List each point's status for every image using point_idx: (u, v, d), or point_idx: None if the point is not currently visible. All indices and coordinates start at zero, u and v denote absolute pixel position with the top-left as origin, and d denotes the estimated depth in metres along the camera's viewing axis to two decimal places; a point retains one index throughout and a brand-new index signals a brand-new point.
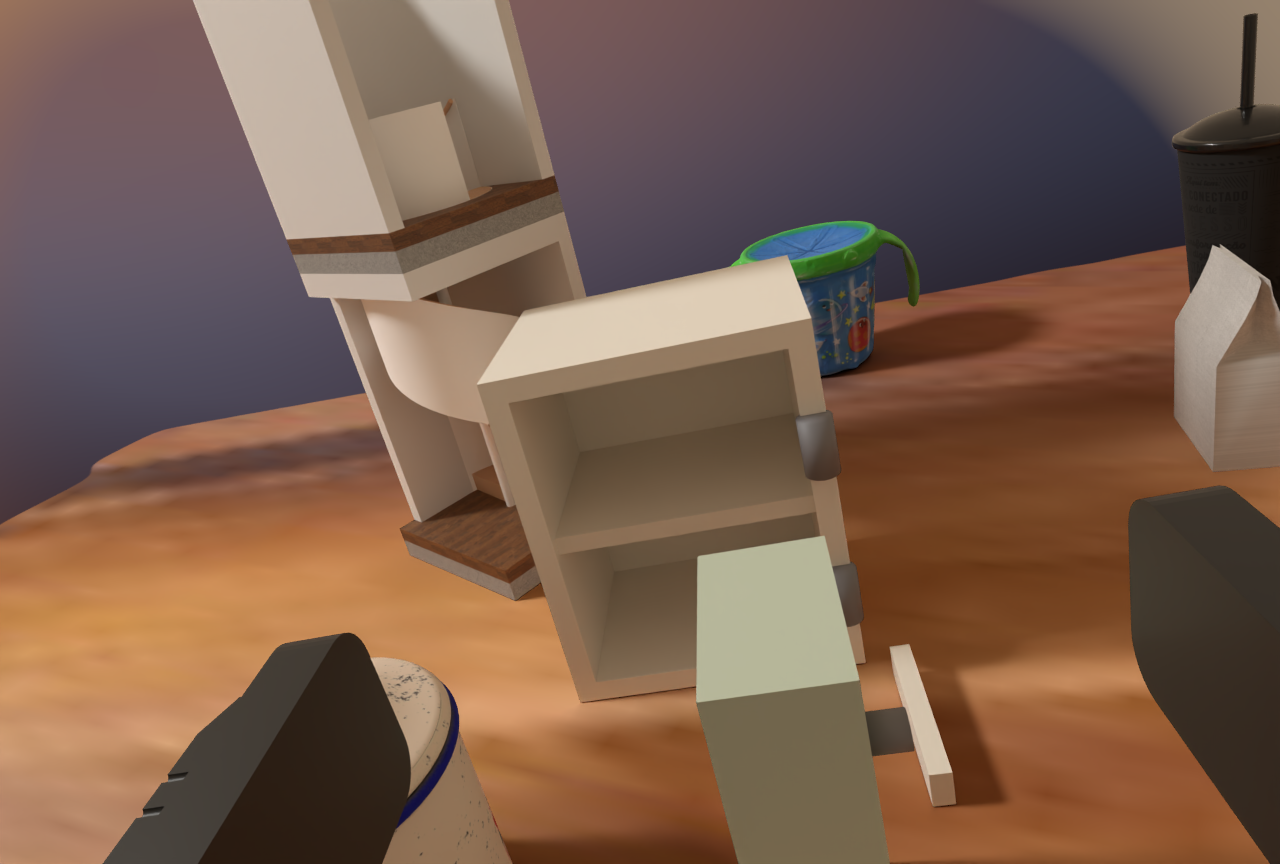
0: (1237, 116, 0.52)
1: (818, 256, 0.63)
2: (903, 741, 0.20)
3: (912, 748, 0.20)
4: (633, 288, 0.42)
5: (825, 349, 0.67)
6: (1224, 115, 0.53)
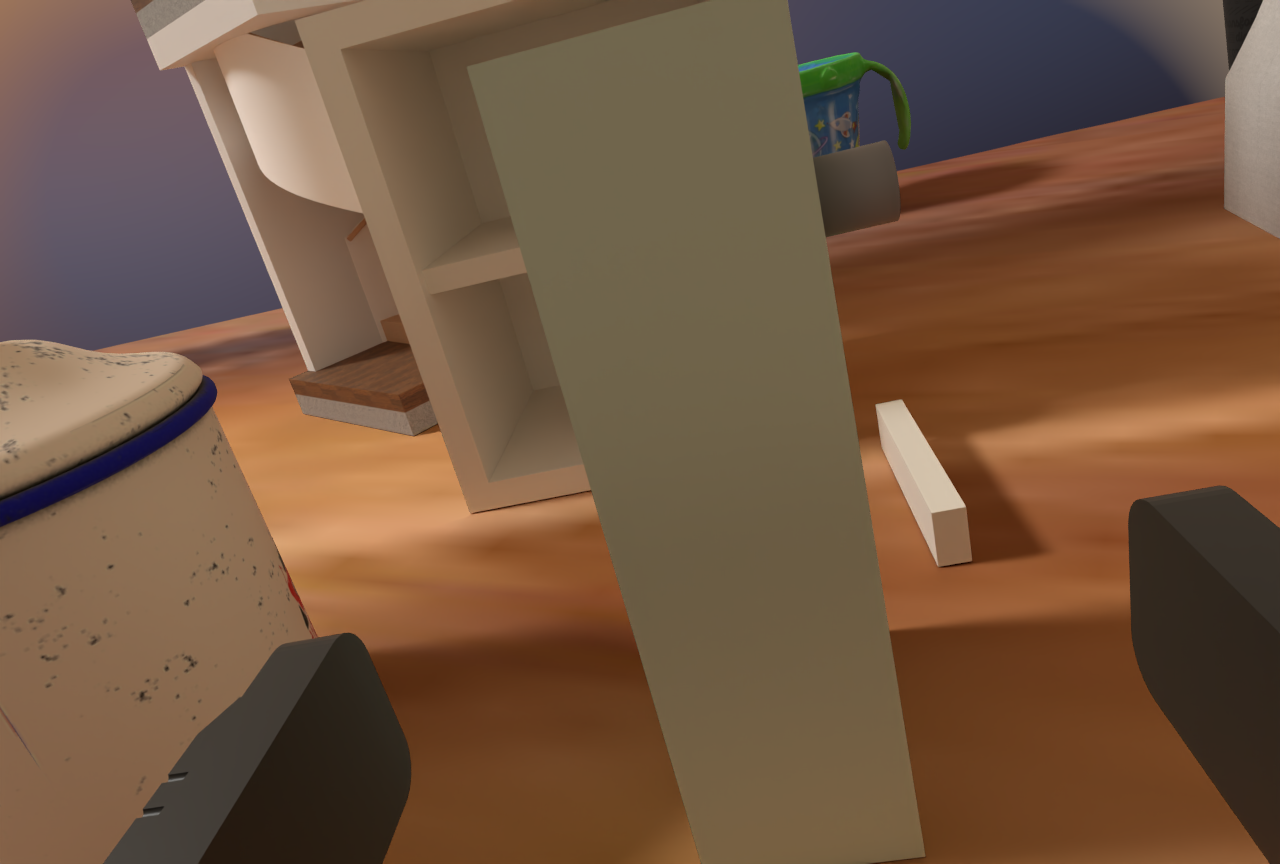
0: None
1: None
2: (878, 182, 0.11)
3: (897, 198, 0.11)
4: None
5: None
6: None
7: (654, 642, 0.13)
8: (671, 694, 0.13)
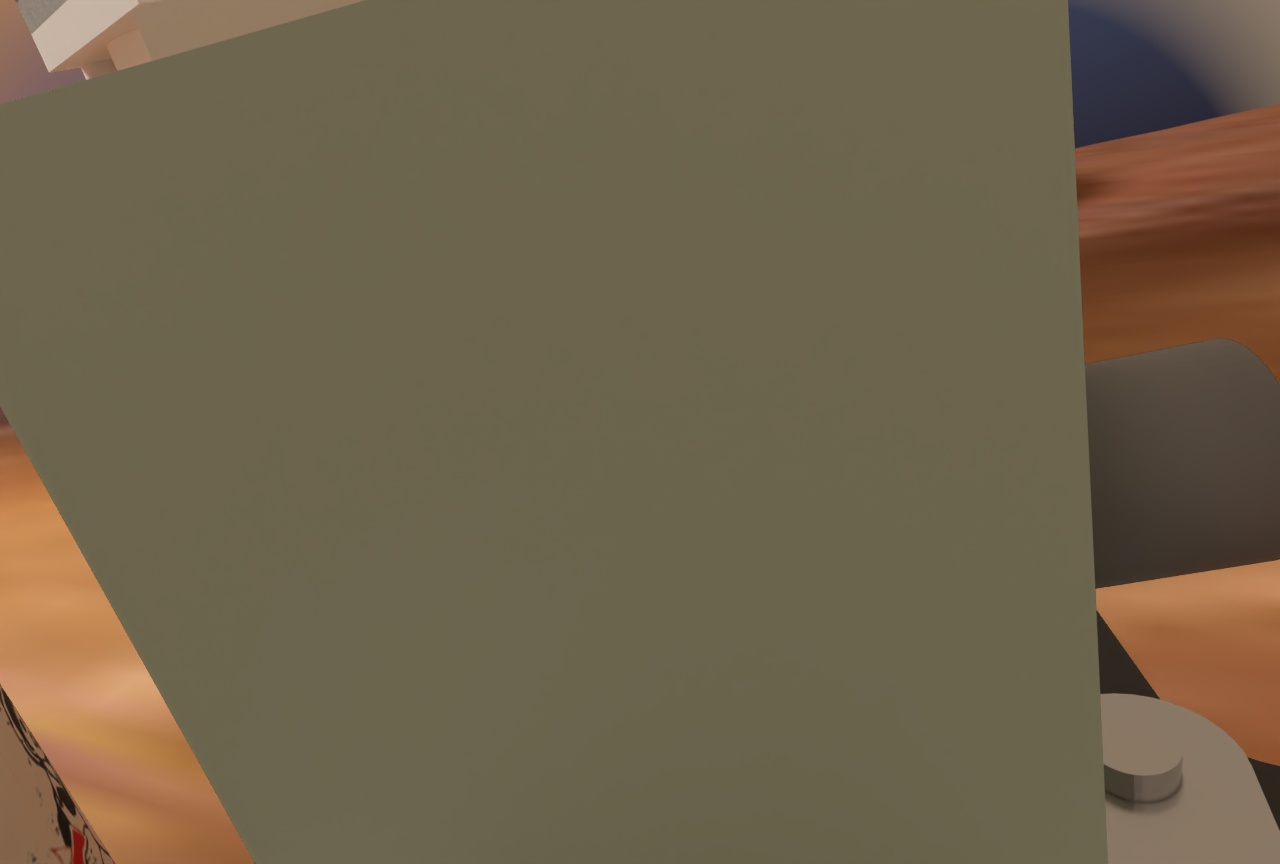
0: None
1: None
2: (1246, 487, 0.03)
3: None
4: None
5: None
6: None
7: None
8: None
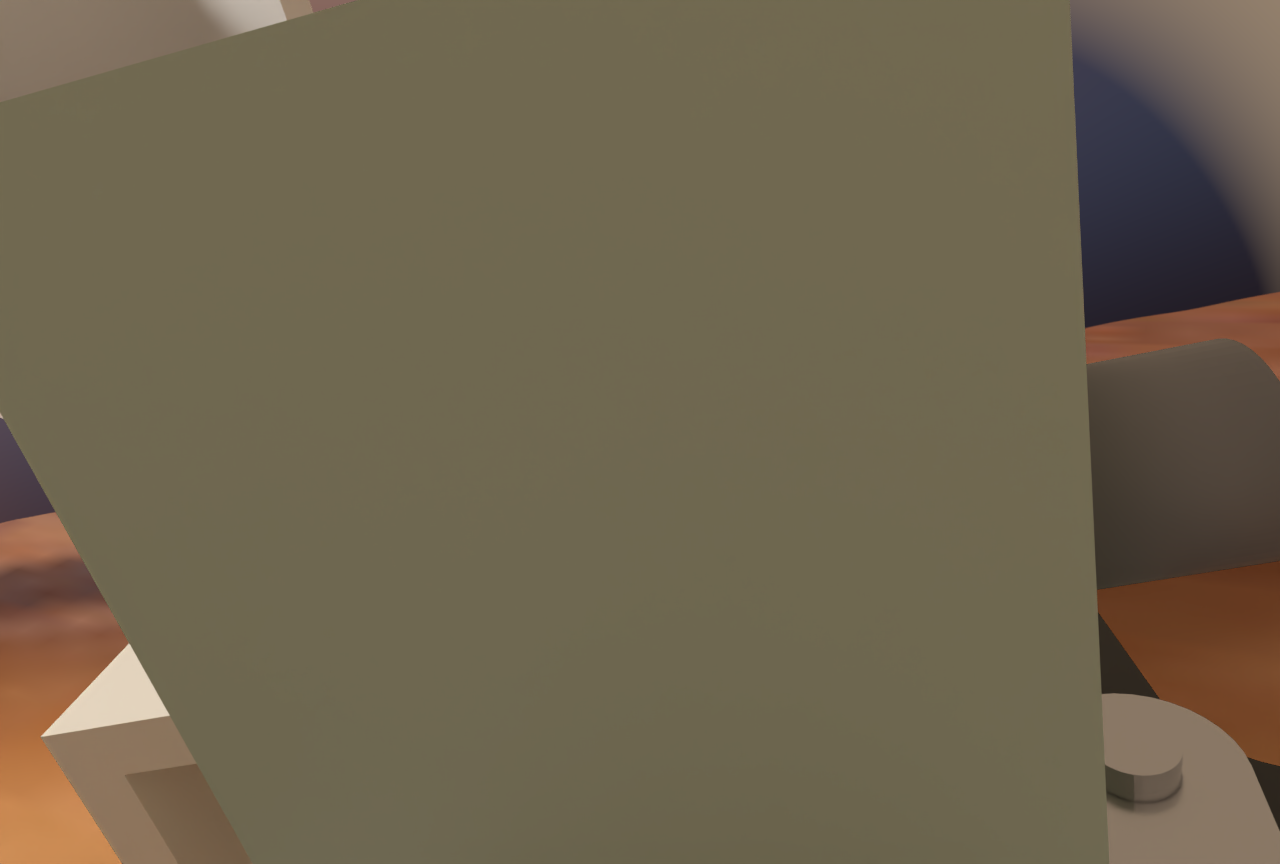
0: None
1: None
2: (1249, 485, 0.03)
3: None
4: None
5: None
6: None
7: None
8: None
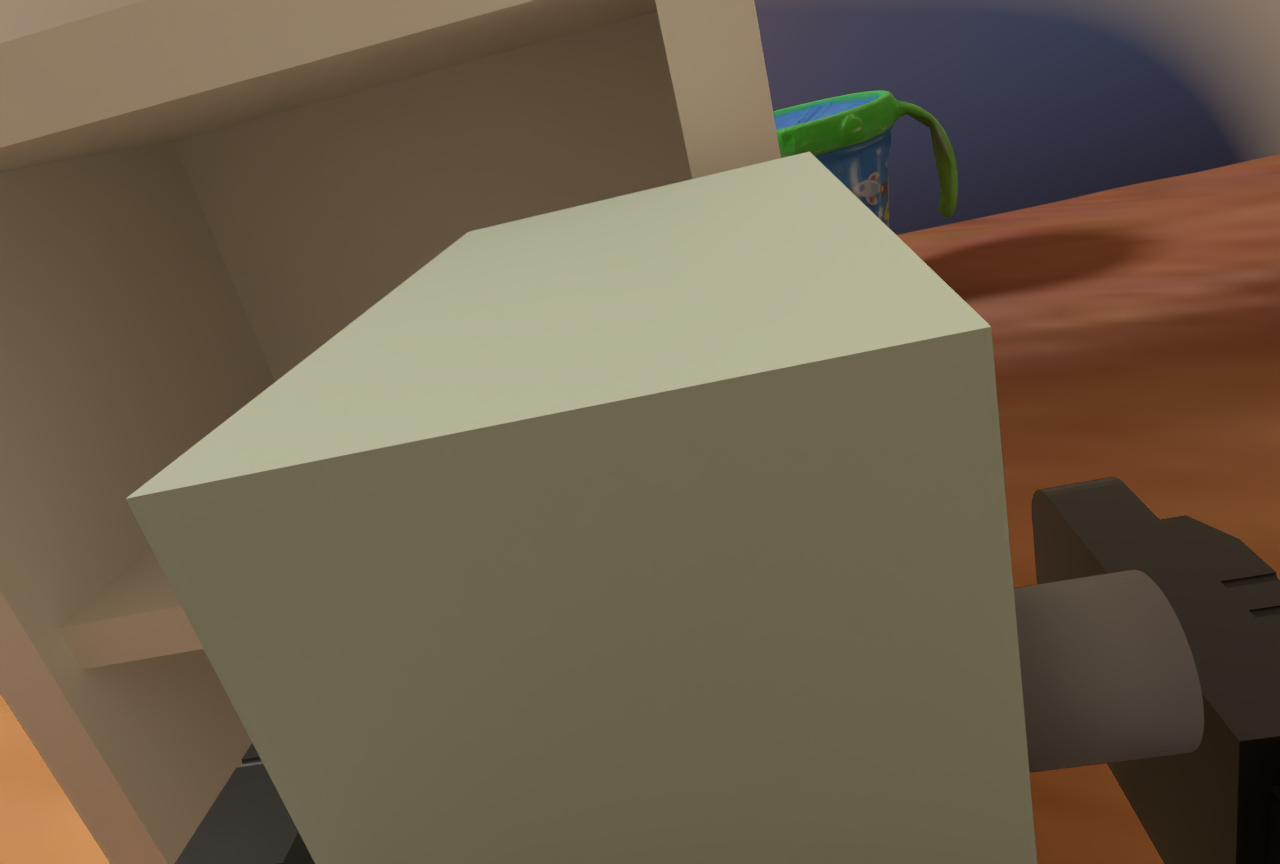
0: None
1: (800, 125, 0.39)
2: (1156, 708, 0.04)
3: (1194, 740, 0.05)
4: None
5: None
6: None
7: None
8: None
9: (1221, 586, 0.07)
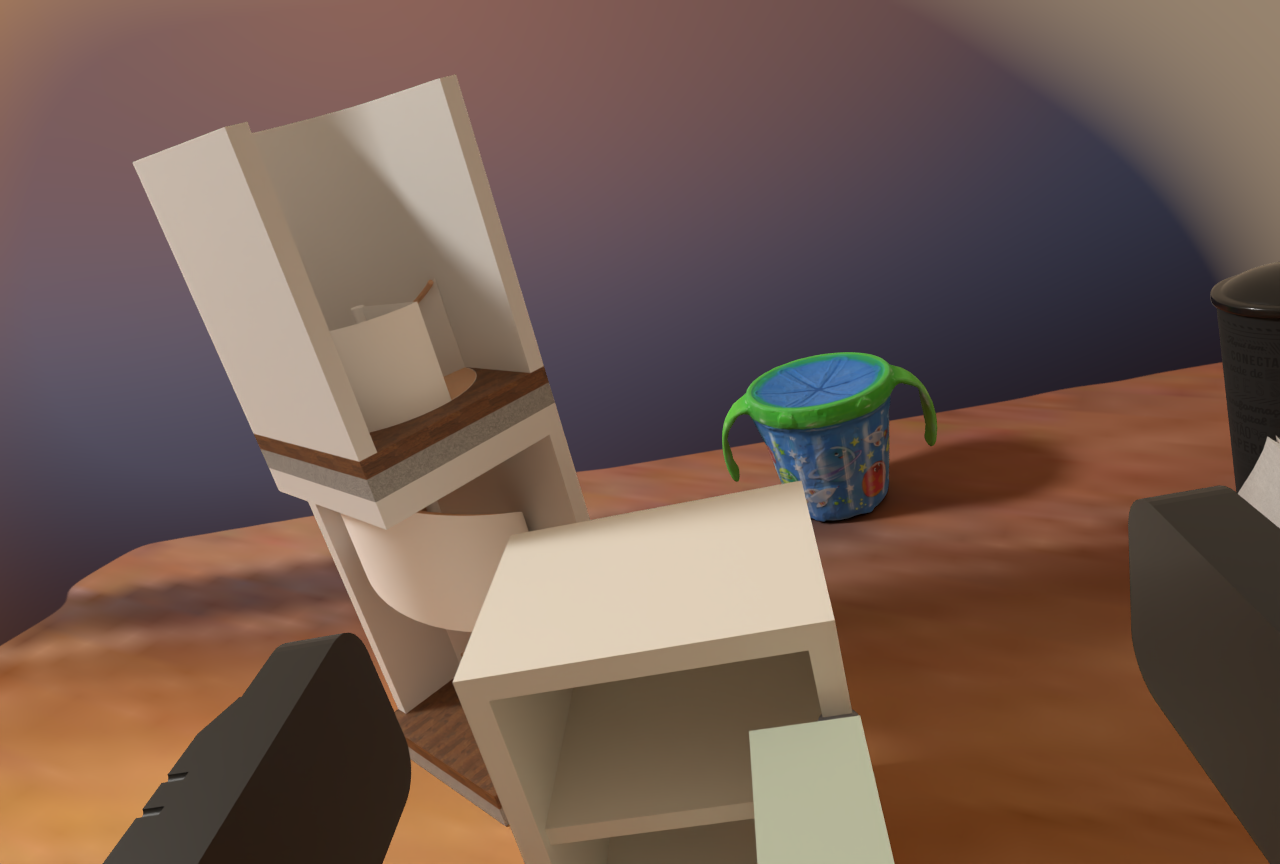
0: None
1: (829, 405, 0.59)
2: None
3: None
4: (631, 514, 0.38)
5: (837, 496, 0.63)
6: (1269, 274, 0.49)
7: None
8: None
9: None
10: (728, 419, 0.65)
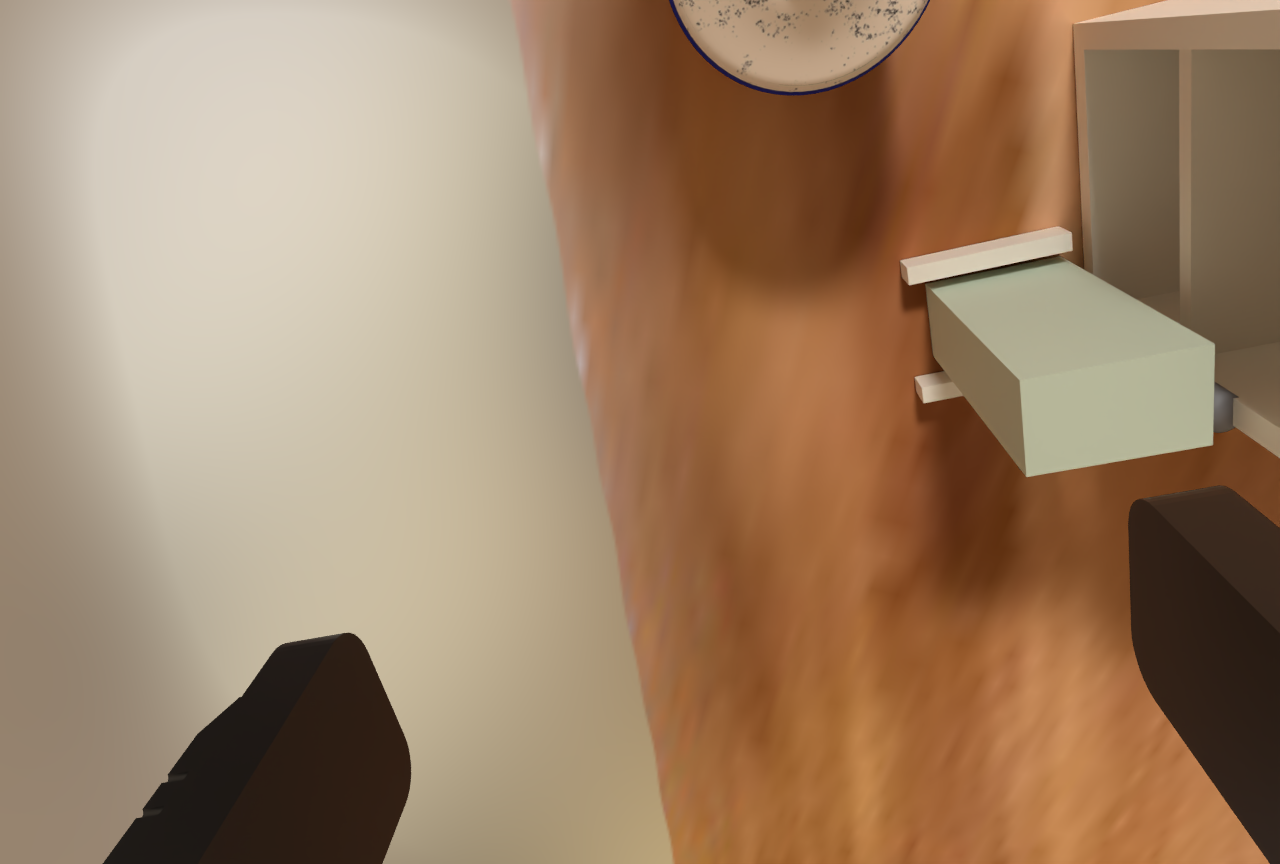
0: None
1: None
2: None
3: None
4: None
5: None
6: None
7: (954, 319, 0.36)
8: (948, 313, 0.37)
9: None
10: None
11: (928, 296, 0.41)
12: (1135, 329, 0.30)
